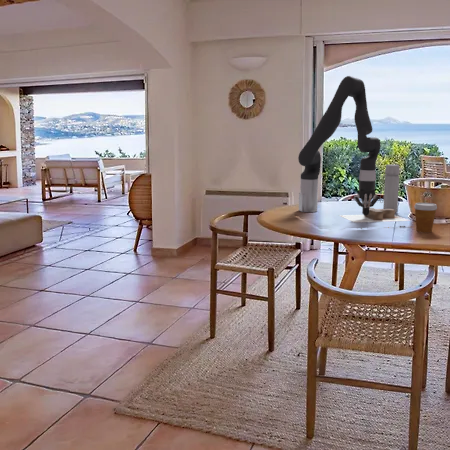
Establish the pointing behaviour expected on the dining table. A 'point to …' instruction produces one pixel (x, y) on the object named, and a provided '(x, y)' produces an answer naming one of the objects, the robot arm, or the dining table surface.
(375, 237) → the dining table surface
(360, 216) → the board
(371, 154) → the robot arm
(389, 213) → the tee block
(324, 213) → the dining table surface
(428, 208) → the disposable coffee cup
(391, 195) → the water bottle
